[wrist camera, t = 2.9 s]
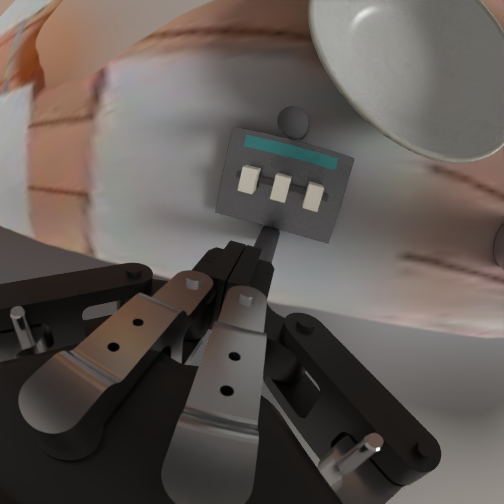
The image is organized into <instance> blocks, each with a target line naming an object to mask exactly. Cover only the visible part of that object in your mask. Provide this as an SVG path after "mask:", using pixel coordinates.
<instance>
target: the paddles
mask: <svg viewBox="0 0 504 504" xmlns="http://www.w3.org/2000/svg"><path fill="white" fill-rule="evenodd" d="M260 170H261V168H258V167H254V166H249V165H246V166H243V168H242V172H241V177H240V181H239V186H238V191H241V192H245V193H249V194H253V193H254V192H255V191H256V187H257V182H258V178H259V174H260ZM291 178H292V176H289V175H285V174H281V173H277V174H276V176H275V180H274V184H273V188H272V192H271V196H270V199H272V200H276V201H279V202H283V203H285V200H286V197H287V193H288V189H289V185H290V182H291ZM323 191H324V187H323V185H320V184H317V183H314V182H310V181H309V183H308V186H307V190H306V194H305V197H304V201H303V208H304V209H308V210H311V211H315V212H317V211H318V208H319V204H320V201H321V198H322V194H323Z"/></svg>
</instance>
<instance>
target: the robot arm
mask: <svg viewBox="0 0 504 504" xmlns="http://www.w3.org/2000/svg"><path fill="white" fill-rule="evenodd" d="M262 250H263V249H260V248H256V247H253V246H249V245H247V246H246V245H245V244H242V243H238V242H234V241H230V242H229V243H228V244H227V246H226V247H225V248H224V249H221V248H217V247H216V248H213V249H211V250H208V252H207V253H206V254H205V255H204V256H203V257H202V259H201V260H200V261H199V262H198V263H197V265H196V266H195V267H194V268H193V269H192V270H187V271H182V272H179V273H178V274H176V275H175V276H174V277H173V278H172V279H171V280H170V281H163V280H155V279H152V276H153V272H152V270H151V269H150V268H149V267H148V266H146V265H143V264H140V263H125V264H119V265H113V266H107V267H101V268H94V269H88V270H82V271H76V272H70V273H64V274H58V275H52V276H46V277H40V278H34V279H28V280H22V281H16V282H10V283H5V284H0V504H385V503H386V502H387V501H388V500H390V499H391V497H393V496H394V495H395V494H396V493H397V492H398V491H400V490H402V489H404V488H405V487H407V486H409V485H410V484H412V483H413V482H415V481H417V480H418V479H420V478H422V477H423V476H424V475H426V474H428V473H429V472H431V471H432V470H434V469H435V468H436V467H437V466H438V464H439V462H440V459H441V450H440V446H439V444H438V442H437V440H436V439H435V438H434V437H433V436H432V435H431V434H430V433H429V432H428V431H427V430H426V429H425V428H424V427H423V426H422V425H421V424H420V423H419V422H418V421H417V420H416V419H415V417H414V416H412V415H411V413H410V412H408V410H407V409H405V407H404V406H403V405H402V404H401V403H400V402H399V401H398V400H397V399H396V398H395V397H394V396H393V395H392V394H391V393H390V392H389V391H388V390H387V389H386V388H385V387H384V386H383V385H382V384H381V383H380V382H379V381H378V380H377V379H376V378H375V377H374V376H373V375H372V374H371V373H370V372H369V371H368V370H367V369H366V368H365V367H364V366H363V365H362V364H361V363H360V362H359V361H358V360H357V359H356V358H355V357H354V356H353V355H352V354H351V353H350V352H349V350H348V349H346V347H345V346H344V345H343V344H342V343H341V342H340V341H338V339H337V338H336V337H334V336H333V334H332V333H331V332H330V331H329V330H328V329H327V328H326V327H325V326H324V325H323V324H322V323H321V322H320V321H319V320H317V319H316V318H314V317H312V316H310V315H308V314H304V313H292V314H289V315H288V316H286V318H284V317H281V316H280V315H278V314H276V313H275V312H274V311H272V310H271V309H270V307H269V306H268V304H267V297H268V293H269V289H270V285H271V281H272V277H273V272H274V267H273V265H272V264H271V262H267V261H263V260H260V259H261V255H262ZM494 257H495V261H496V262H497V264H498V265H499V266H500V267H501V268H503V269H504V224H503V225H502V226H501V228H500V230H499V231H498V234H497V236H496V239H495V244H494ZM113 301H117V311H116V312H115V313H114V314H112V315H108V316H104V317H99V318H94V319H90V320H83V319H82V313H83V311H84V310H85V309H86V308H87V307H89V306H94V305H99V304H104V303H108V302H113ZM208 329H210V330H212V331H211V333H210V336H209V339H208V342H207V345H206V348H205V351H204V353H203V356H202V359H201V362H200V365H199V366H191V365H189V364H190V363H191V361H192V359H193V358H194V356H195V355H196V353H197V351H198V350H199V348H200V347H201V345H202V344H203V341H204V336H205V334H206V333H207V331H208ZM306 371H307V372H308V373H309V374H310V376H311V377H312V378H313V379H314V380H315V382H316V383H317V384H318V386H319V388H320V391H319V390H318V389H317V387H316V386H315V385H314V384H313V382H312V381H311V380H310V379H309V378H308V376H307V375H306V374H305V372H306ZM263 379H264V382H265V384H266V386H267V387H268V388H269V390H270V392H271V393H272V395H273V396H274V397H275V399H276V400H277V402H278V403H279V405H280V406H281V407H282V409H283V410H284V412H285V413H286V414H287V416H288V417H289V419H290V420H291V422H292V423H293V424H294V426H295V427H296V428H297V430H298V431H299V433H300V434H301V435H302V437H303V438H304V439H305V441H306V442H307V443H308V445H309V446H310V447H311V449H312V450H313V451H314V453H316V455H317V456H318V458H319V459H320V461H319V463H318V468H317V467H316V466H315V464H314V463H313V461H312V460H311V458H310V457H309V456H308V454H307V453H306V451H305V450H304V448H303V447H302V446H301V444H300V443H299V441H298V440H297V438H296V437H295V435H294V434H293V432H292V431H291V429H290V428H289V426H288V425H287V423H286V422H285V420H284V418H283V417H282V415H281V414H280V412H279V411H278V410H277V409H276V408H275V407H274V405H272V404H271V403H270V402H269V401H268V400H267V399H266V398H264V397H263V396H262V395H261V389H262V380H263Z"/></svg>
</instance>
